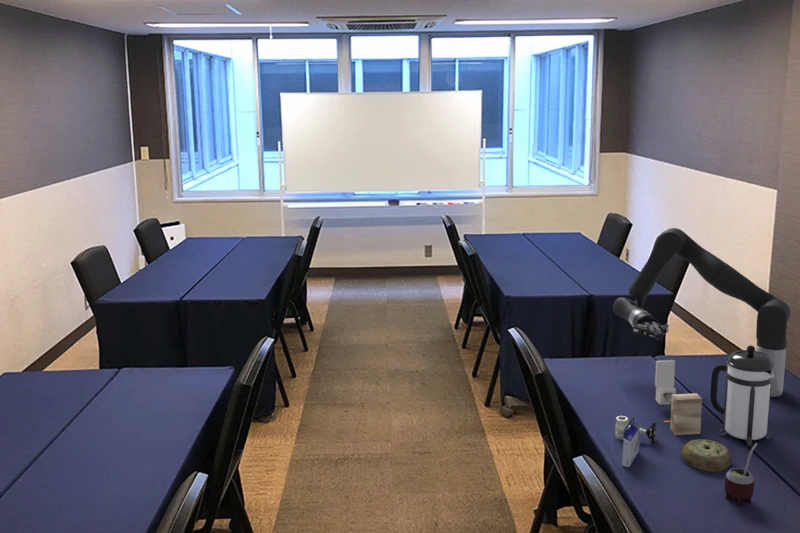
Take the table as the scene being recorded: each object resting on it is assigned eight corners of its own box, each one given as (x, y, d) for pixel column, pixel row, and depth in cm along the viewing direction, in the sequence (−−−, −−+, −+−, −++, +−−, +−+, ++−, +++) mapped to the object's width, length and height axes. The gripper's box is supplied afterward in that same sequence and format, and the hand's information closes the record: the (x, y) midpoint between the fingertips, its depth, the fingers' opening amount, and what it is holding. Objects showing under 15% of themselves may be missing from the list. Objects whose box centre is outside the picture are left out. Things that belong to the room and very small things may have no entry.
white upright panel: (654, 399, 249) (656, 360, 245) (671, 398, 249) (673, 359, 246) (658, 404, 245) (660, 365, 242) (676, 403, 245) (678, 364, 242)
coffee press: (767, 427, 232) (774, 338, 225) (774, 450, 217) (782, 356, 210) (708, 421, 238) (713, 334, 231) (711, 444, 223) (717, 351, 216)
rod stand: (648, 404, 252) (649, 372, 249) (671, 403, 252) (672, 371, 249) (675, 435, 230) (676, 399, 227) (700, 433, 230) (702, 398, 227)
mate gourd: (724, 504, 191) (727, 452, 188) (723, 489, 198) (726, 439, 195) (755, 509, 188) (759, 456, 185) (753, 494, 195) (757, 442, 192)
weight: (739, 472, 206) (740, 456, 205) (691, 474, 207) (692, 458, 206) (719, 450, 220) (720, 434, 219) (674, 451, 220) (675, 436, 219)
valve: (613, 441, 228) (653, 447, 223) (613, 421, 226) (654, 427, 221) (616, 432, 234) (655, 438, 229) (617, 413, 232) (656, 418, 227)
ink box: (629, 468, 211) (630, 431, 209) (621, 466, 212) (622, 430, 210) (640, 451, 221) (641, 416, 218) (632, 449, 222) (633, 414, 219)
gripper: (624, 312, 264) (641, 327, 247) (660, 310, 264) (680, 325, 248) (624, 332, 266) (640, 348, 249) (659, 330, 266) (679, 346, 249)
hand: (660, 336), depth 248 cm, fingers closed
